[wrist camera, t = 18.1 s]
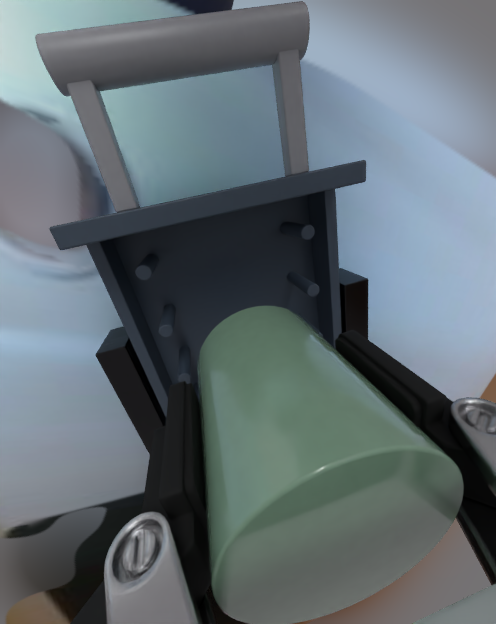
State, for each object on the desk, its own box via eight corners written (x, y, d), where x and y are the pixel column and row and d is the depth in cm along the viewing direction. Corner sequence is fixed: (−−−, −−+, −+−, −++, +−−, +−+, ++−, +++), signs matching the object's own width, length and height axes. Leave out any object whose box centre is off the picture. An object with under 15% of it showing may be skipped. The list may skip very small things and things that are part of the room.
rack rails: (110, 329, 16) (94, 354, 13) (341, 267, 18) (368, 278, 15) (192, 497, 23) (193, 535, 21) (348, 441, 25) (367, 468, 23)
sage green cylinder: (180, 326, 10) (168, 527, 4) (310, 290, 11) (489, 407, 4) (215, 425, 12) (245, 654, 6) (320, 390, 13) (447, 563, 7)
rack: (45, 99, 11) (-59, 20, 6) (299, 60, 13) (367, -28, 8) (179, 413, 19) (176, 480, 14) (325, 366, 20) (366, 414, 16)
